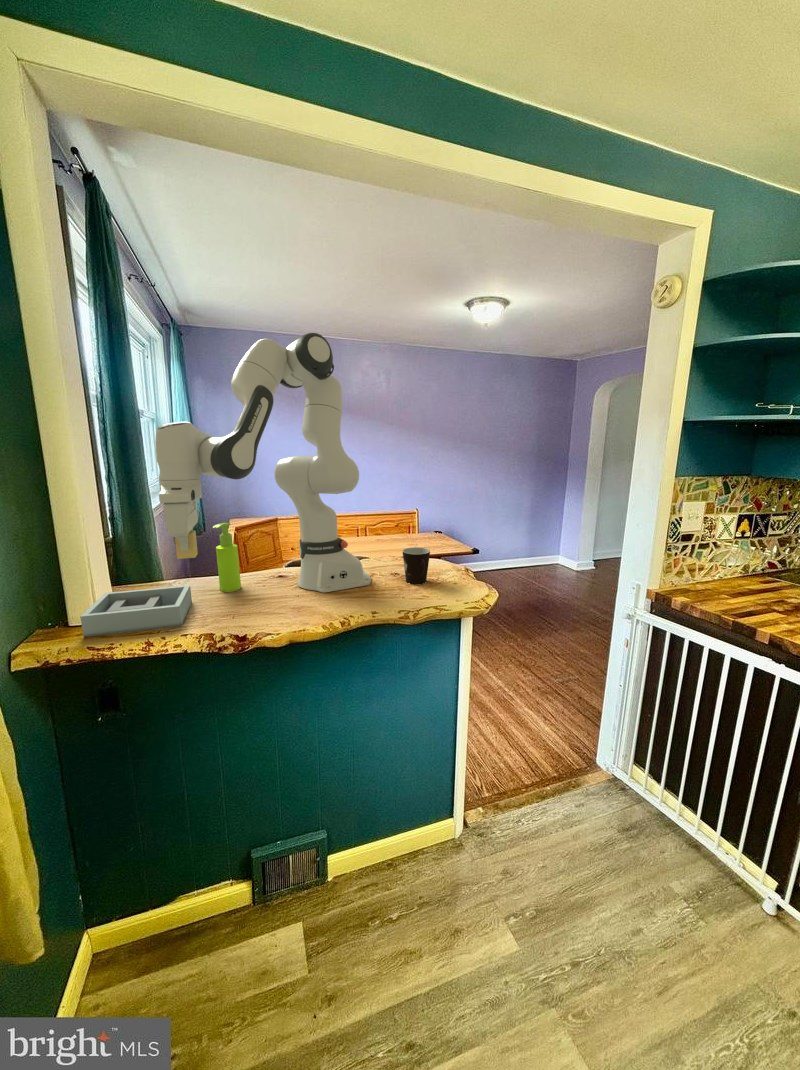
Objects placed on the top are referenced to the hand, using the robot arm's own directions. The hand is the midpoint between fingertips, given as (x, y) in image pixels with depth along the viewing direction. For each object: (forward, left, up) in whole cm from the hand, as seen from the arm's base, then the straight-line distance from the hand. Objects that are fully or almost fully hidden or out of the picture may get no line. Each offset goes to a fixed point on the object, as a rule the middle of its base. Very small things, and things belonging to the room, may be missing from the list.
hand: (186, 547), depth 104 cm
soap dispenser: (-7, -19, -18) cm, 27 cm away
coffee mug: (-62, -7, -18) cm, 65 cm away
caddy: (+12, -2, -18) cm, 21 cm away
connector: (0, 0, -2) cm, 2 cm away
